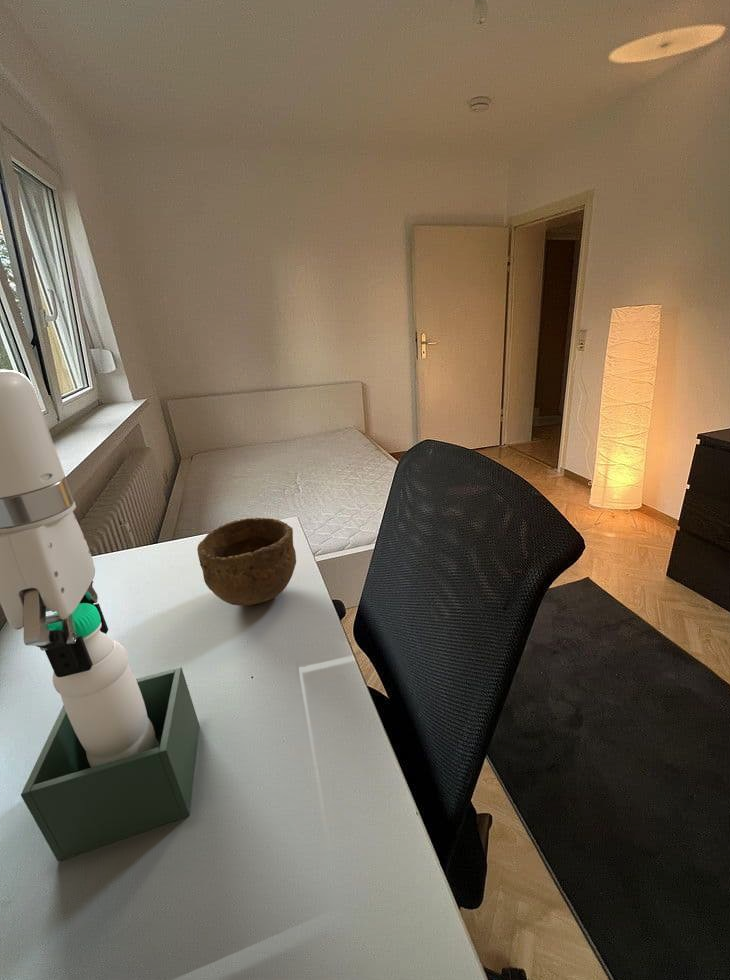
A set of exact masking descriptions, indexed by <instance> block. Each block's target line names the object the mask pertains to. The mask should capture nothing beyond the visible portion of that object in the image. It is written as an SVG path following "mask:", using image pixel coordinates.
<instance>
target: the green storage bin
mask: <svg viewBox="0 0 730 980" xmlns="http://www.w3.org/2000/svg"><path fill="white" fill-rule="evenodd" d="M136 681H137V683H138V686H139V689H140V692H141V694H142V697H143V701H144V704H145V707H146V712H147V717H148V718H149V719H150V721H151V723H152V725H153V728H154V731H155V737H156V739H157V741H158V743H159V745H160V747H158V748H154V749H151V750H148V751H144V752H141V753H138V754H134V755H131V756H128V757H125V758H121V759H118V760H115V761H111V762H108V763H105V764H101V765H98V766H95V767H92V768H91V767H90V765H89V762H88V759H87V755H86V751H85V749H84V748H83V746H82V744H81V743H80V741H79V739H78V737H77V735H76V733H75V731H74V729H73V727H72V725H71V722H70V720H69V718H68V715H67V713H66V710H65V707H64V705H63V704H62V707H61V710H60V711H59V713H58V715H57V718H56V720H55V722H54V724H53V725H52V729H51V731H50V732H49V734H48V736H47V739H46V740H45V743H44V745H43V747H42V749H41V752H40V753H39V756H38V758H37V759H36V762H35V764H34V766H33V768H32V770H31V771H30V774H29V777H28V779H27V781H26V783H25V784H24V786H23V789H22V791H21V793H20V796H21V798H22V800H23V802H24V804H25V806H26V807H27V809H28V811H29V813H30V815H31V817H32V818H33V820H34V821H35V823H36V825H37V828H38V829H39V830H40V833H41V835H42V836H43V838H44V840H45V841H46V843H47V844H48V847H49V848H50V850H51V852H52V854H53V856H54V857H55V860H56V861H57V862H61V861H63V860H66V859H69V858H73V857H75V856H78V855H80V854H83V853H86V852H89V851H93V850H95V849H99V848H101V847H104V846H107V845H109V844H112V843H115V842H118V841H120V840H123V839H126V838H130V837H133V836H135V835H138V834H141V833H145V832H146V831H150V830H152V829H155V828H158V827H160V826H164V825H167V824H169V823H172V822H175V821H178V820H181V819H183V818H186V817H189V816H190V815H191V806H192V799H193V798H192V797H193V788H194V779H195V770H196V761H197V753H198V752H197V751H198V745H199V744H198V743H199V734H200V723H199V720H198V716H197V712H196V709H195V706H194V702H193V699H192V696H191V694H190V690H189V686H188V684H187V681H186V677H185V674H184V670H183V668H182V667H181V666H180V667H177V668H172V669H168V670H165V671H161V672H158V673H153V674H149V675H146V676H141V677H137V678H136Z"/></svg>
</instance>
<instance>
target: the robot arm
mask: <svg viewBox="0 0 730 980" xmlns="http://www.w3.org/2000/svg"><path fill="white" fill-rule="evenodd" d="M44 415H45V414H44V412H43V410H42V407H41V405H40V402H39V399H38V396H37V393H36V391H35V388H34V386H33V383H32V382H31V381H30V380H29V378H28V377H27V376H26V375H24V374H23V373H20V372H18V371H16V370H11V369H0V606H1V608H2V611H3V613H4V616H5V618H6V620H7V622H8V624H9V626H10V627H11V628H12V629H13V630H15V631H18V630H21V629H23V644H24V645H25V646H28V647H29V646H30V647H37V648H39V649H40V651H42V652H43V651H44V652H45V655H46V657H47V659H48V661H49V664H50V666H51V668H52V670H53V672H54V673H55V675H56V676H57V677H64V676H68V675H72V674H76V673H80V672H84V671H88V670H90V669H91V667H92V665H93V664H92V661H91V658H90V656H89V653H88V651H87V648H86V646H85V643H84V641H83V638H82V636H80V637H77V636H76V631H75V627H74V622H73V617H72V613H73V612H74V610H75V609H76V607H77V606H78V604H79V603H80V604H81V603H90V604H92V605H94V606H95V607H96V608H97V610H98V612H99V614H100V618H101V628H100V631H101V632H103V633H105V634H108V631H109V628H108V624H107V621H106V619H105V616H104V614H103V612H102V607H101V605H100V603H98V600H99V596H98V593H97V592H96V590H95V588H94V587H93V584H94V578H95V575H96V567H95V563H94V559H93V557H92V553H91V551H90V548H89V545H88V543H87V540H86V537H85V536H84V533H83V531H82V529H81V526H80V523H79V522H78V519H77V518H76V515H75V514H74V511H75V510H76V509H77V505H76V502H75V500H74V497H73V494H72V491H71V488H70V485H69V482H68V480H67V476H66V474H65V472H64V468H63V466H62V463H61V460H60V458H59V455H58V453H57V448H56V446H55V443H54V441H53V438H52V436H51V432H50V430H49V427H48V424H47V422H46V421H47V420H46V418H45V416H44ZM47 612H52V613H56V612H57V614H55V615H53V614H51V615H47ZM60 621H61V622H62V627H63V631H64V632H63V631H60V630H53V631H51V630H49V629H48V624H51V623H55V622H60Z"/></svg>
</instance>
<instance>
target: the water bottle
mask: <svg viewBox="0 0 730 980" xmlns="http://www.w3.org/2000/svg"><path fill="white" fill-rule="evenodd" d="M55 614H57V611H56V612H53V614H52V615H55ZM72 617H73V622H74V627H75V631H76V636H77V637H80V636H82V638H83V641H84V643H85V646H86V648H87V651H88V653H89V656H90V658H91V661H92V664H93V665H92V667H91V669H90V670H88V671H84V672H80V673H76V674H72V675H68V676H64V677H57V676H56V675H55V673H54V671H53V673H52V684H53V687H54V689H55V691H56V692H57V693H58V694H59V695H60V697H61V700H62V706H63V705H64V707H65V710H66V713H67V715H68V718H69V720H70V722H71V725H72V727H73V729H74V731H75V733H76V735H77V737H78V739H79V741H80V743H81V744H82V746H83V748H84V749H85V751H86V755H87V759H88V762H89V765H90V767H91V768H92V767H95V766H98V765H101V764H105V763H108V762H111V761H115V760H118V759H121V758H125V757H128V756H131V755H134V754H138V753H141V752H144V751H148V750H151V749H154V748H158V747H160V745H159V743H158V741H157V739H156V737H155V731H154V728H153V725H152V723H151V721H150V719H149V718H148V717H147V712H146V707H145V704H144V701H143V697H142V694H141V692H140V689H139V686H138V683H137V681H136V679H137V678H136V676H135V673H134V672H133V670H132V668H131V666H130V663H129V656H128V653H127V650H126V649H125V647H124V646H123V645H122V644H120V643H119V642H118V641H117V640H115V639H113V638H112V637H111V636H110V635H109V634H108V633H106V634H105V633H103V632H101V631H100V628H101V618H100V614H99V612H98V610H97V608H96V607H95V606H94V605H92V604H90V603H81V604H80V603H79V604H78V606H77V607H76V609H75V610H74V612H73V613H72ZM48 629H49V630H51V631H53V630H60V631H63V627H62V622H61V621H60V622H55V623H51V624H48ZM63 632H64V631H63Z"/></svg>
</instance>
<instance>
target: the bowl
mask: <svg viewBox="0 0 730 980" xmlns="http://www.w3.org/2000/svg"><path fill="white" fill-rule="evenodd" d="M196 551H197V557H198V561H199V565H200V567H201V570H202V575H203V576H202V577H203V581H204V583H205V585H206V586H207V588H208V590H210V591H211V592H212V593H213V594H214V595H215V596H216V597H217V598H219V599H220V600H222V601H223V602H224V603H226V604H229V605H232V606H250V605H252V606H253V605H256V604H260V603H261V604H262V603H264V602H268V601H270V600H273V599H274V598H276V597H277V596H278V595H280V594H281V593H282V592H283V591H284V590H285V589H286V588H287V587H288V585H289V583H290V581H291V579H292V577H293V575H294V571H295V569H296V564H297V555H296V549H295V546H294V530H293V527H291V526H290V525H289V524H288V523H287V522H284V521H282V520H281V519H280V520H279V519H275V518H270V517H268V518H265V517H248V518H240V519H237V520H233V521H230V522H226V523H224V524H222V525H220V526H219V527H216V528H215V529H213V530H211V532H209V533H207V535H205V537H204V538H203V539H202V540H201V541H199V543H198V544H197V549H196Z"/></svg>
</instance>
